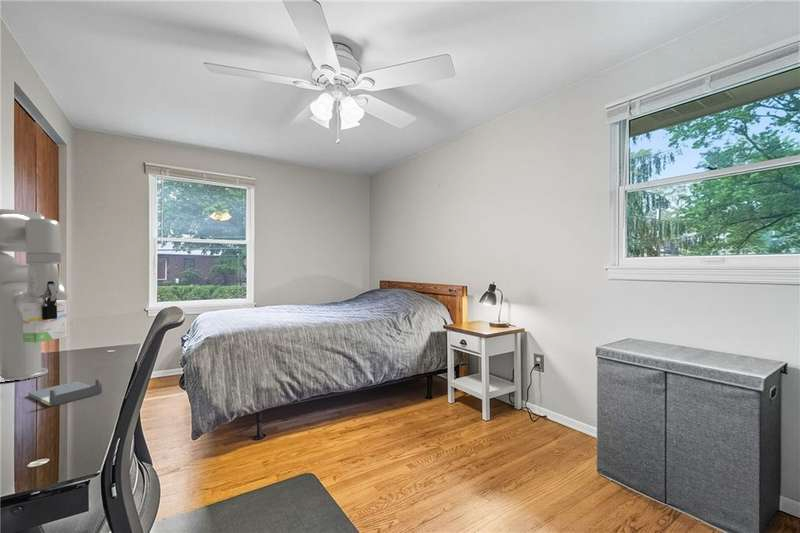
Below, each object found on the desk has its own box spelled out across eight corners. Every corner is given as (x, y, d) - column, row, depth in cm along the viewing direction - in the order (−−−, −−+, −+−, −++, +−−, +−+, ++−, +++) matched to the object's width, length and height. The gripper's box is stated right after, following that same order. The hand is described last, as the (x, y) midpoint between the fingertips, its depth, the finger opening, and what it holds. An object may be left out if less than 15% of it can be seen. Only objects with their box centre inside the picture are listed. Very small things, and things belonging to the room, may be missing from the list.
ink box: (35, 343, 104) (33, 292, 104) (22, 342, 106) (20, 292, 105) (68, 336, 113) (67, 290, 113) (56, 336, 114) (54, 290, 114)
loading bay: (28, 395, 101) (27, 381, 101) (77, 384, 111) (76, 371, 110) (51, 406, 93) (50, 391, 93) (102, 393, 102) (101, 379, 102)
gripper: (16, 260, 110) (18, 318, 110) (37, 259, 101) (38, 322, 102) (49, 260, 116) (51, 315, 117) (71, 259, 108) (73, 318, 108)
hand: (45, 317), depth 109 cm, fingers closed on ink box, 6 cm apart
